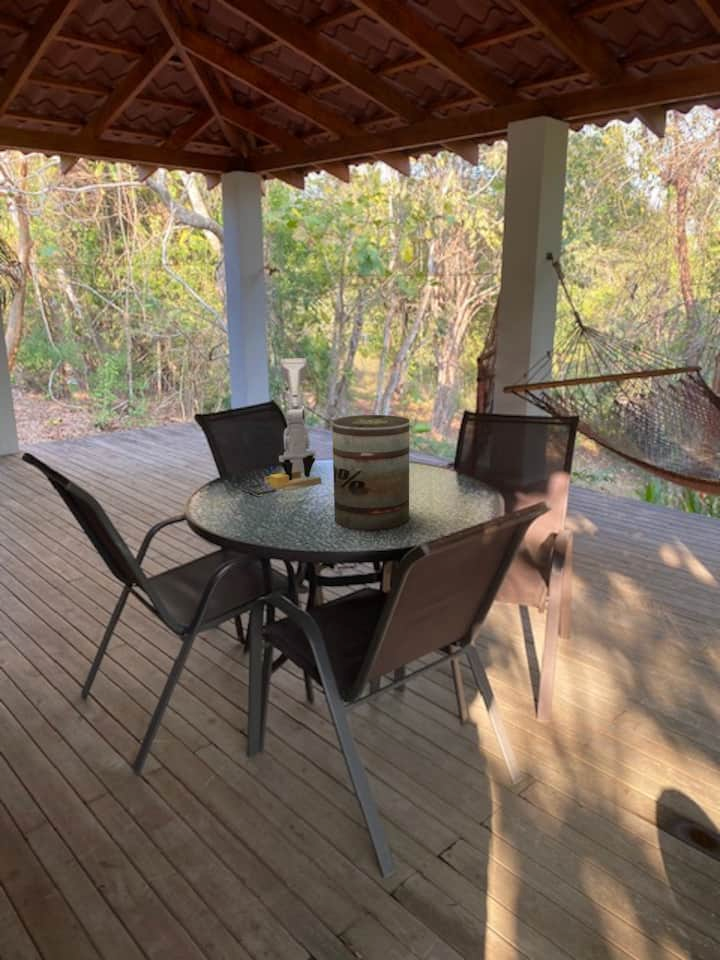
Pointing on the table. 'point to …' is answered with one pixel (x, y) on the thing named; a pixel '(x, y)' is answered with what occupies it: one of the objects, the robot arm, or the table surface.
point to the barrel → (371, 472)
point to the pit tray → (256, 491)
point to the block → (279, 480)
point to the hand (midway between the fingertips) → (298, 478)
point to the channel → (297, 481)
